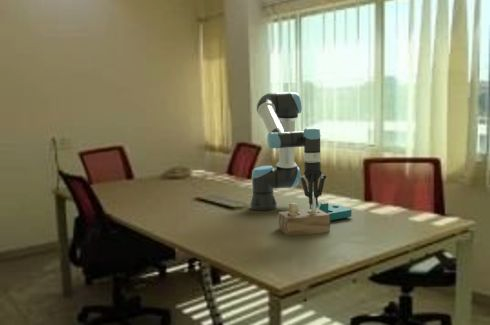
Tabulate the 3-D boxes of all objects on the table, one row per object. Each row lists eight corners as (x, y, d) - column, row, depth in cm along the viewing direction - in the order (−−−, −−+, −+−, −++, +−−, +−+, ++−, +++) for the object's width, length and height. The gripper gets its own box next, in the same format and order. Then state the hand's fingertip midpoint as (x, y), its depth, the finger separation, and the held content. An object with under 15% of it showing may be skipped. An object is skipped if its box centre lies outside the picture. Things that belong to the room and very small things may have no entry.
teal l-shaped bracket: (321, 224, 259) (322, 204, 257) (309, 218, 269) (309, 199, 267) (351, 219, 267) (351, 199, 265) (338, 213, 277) (338, 194, 275)
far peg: (308, 227, 251) (307, 210, 250) (316, 226, 252) (315, 210, 251) (311, 229, 248) (311, 212, 246) (319, 228, 248) (319, 211, 247)
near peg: (288, 220, 248) (287, 203, 247) (296, 219, 249) (295, 202, 248) (291, 222, 244) (290, 205, 243) (299, 221, 245) (298, 204, 244)
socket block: (279, 228, 253) (278, 212, 252) (318, 224, 258) (317, 208, 257) (288, 236, 240) (288, 218, 238) (329, 231, 245) (329, 214, 243)
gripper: (302, 163, 240) (303, 214, 244) (328, 161, 244) (329, 211, 247) (296, 161, 248) (297, 210, 251) (322, 159, 251) (323, 208, 254)
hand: (313, 210), depth 249 cm, fingers closed
